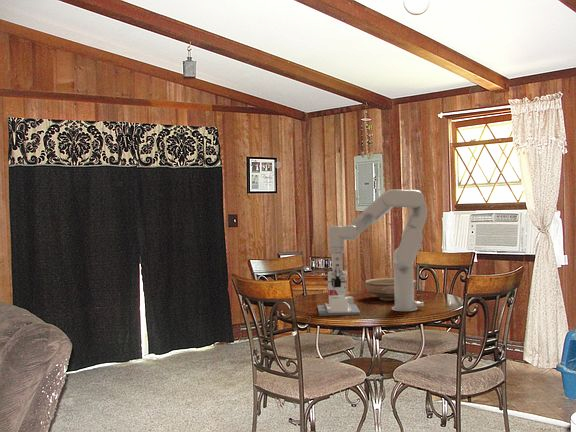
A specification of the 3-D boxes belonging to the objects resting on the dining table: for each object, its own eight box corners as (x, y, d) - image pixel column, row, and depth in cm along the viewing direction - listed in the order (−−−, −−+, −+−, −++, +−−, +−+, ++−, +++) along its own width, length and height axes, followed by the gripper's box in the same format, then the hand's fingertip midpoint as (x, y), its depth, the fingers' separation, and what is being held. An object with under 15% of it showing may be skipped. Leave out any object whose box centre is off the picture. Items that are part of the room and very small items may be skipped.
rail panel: (355, 306, 334) (355, 291, 334) (360, 314, 309) (360, 298, 309) (317, 307, 335) (317, 292, 335) (319, 315, 310) (318, 299, 310)
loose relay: (350, 303, 345) (350, 296, 345) (353, 304, 342) (353, 297, 342) (343, 304, 344) (343, 296, 344) (346, 305, 340) (346, 297, 340)
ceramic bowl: (366, 294, 380) (366, 277, 380) (415, 293, 375) (415, 276, 375) (363, 303, 344) (363, 285, 343) (417, 303, 339) (417, 284, 339)
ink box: (329, 295, 319) (329, 272, 319) (327, 294, 324) (327, 271, 323) (346, 295, 320) (346, 271, 320) (344, 293, 325) (343, 270, 325)
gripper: (345, 251, 313) (345, 288, 313) (342, 249, 330) (343, 284, 330) (329, 251, 313) (330, 288, 313) (328, 249, 330) (328, 284, 330)
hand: (337, 285), depth 322 cm, fingers closed on ink box, 5 cm apart
